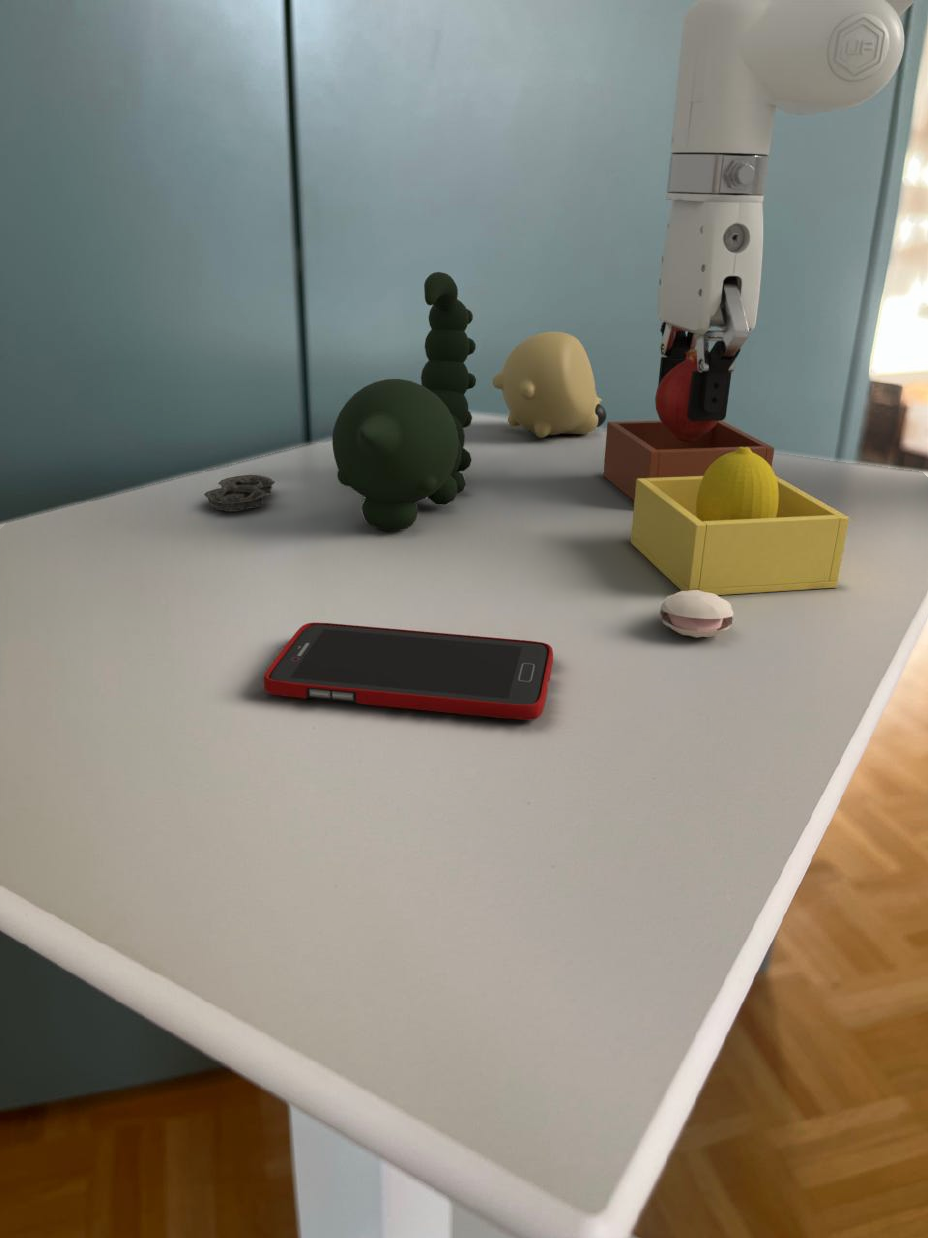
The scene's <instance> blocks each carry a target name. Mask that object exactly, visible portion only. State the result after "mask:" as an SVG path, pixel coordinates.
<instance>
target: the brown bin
mask: <svg viewBox="0 0 928 1238" xmlns="http://www.w3.org/2000/svg"><path fill="white" fill-rule="evenodd" d="M606 423H607V424H606V438H605V447H604V460H603V461H604V462H603V477H604V478H605V479H607V480H608V481H609V482H610V483H611V484H613V485H614V486H615V487H616V488H617V489H619V490H620V491H621V492H622V493H624V494H625V495H626V496H627V497H628V498H630V499H631V500H632V501H633V502H635V491H636V480H637V479H639V478H645V479H646V478H662V477H688V476H704V474H705V472H706V470H707V469H708V468H709V466H710V465H711V464H712V463H713V462H714V461H715V460H717V459H718V458H719V457H721V456H723V455H725V454H727V453H730V452H734V451H736V450H737V449H738V448H739V447H748V448H750V450H751V451H752V453H755V454H757V455H758V456H760V457H762V458H763V459H764V460H766V462H767V463H768V464H769V465H770V466H771V468H772V469H773V461H774V454H775V447H774V446H771V445H770V444H768V443H766V442H764V441H763V440H760V439H759V438H756V437H754V436H752V435H750V434H749V433H747V432H745V431H742V430H741V429H739V428H737V427H735V426H733V425H731V424H729V423H727V422H725V421H724V420H721V421H718V423H717V424H716V425H715V426H714V427H713V428H712V429H711V430H710V431H709V432H707V433H706V434H704V435H703V436H701V437H699V438H697V439H696V440H694V441H693V442H691V443H689V444H683V443H681V442H679V441H678V440H677V438H676V437H675V436H674V435H673V434H672V433H671V432H670V431H669V430H668V429H667V428H666V427H665V425H664V424H663V423H662V422H661V420H628V421H627V420H626V421H607V422H606Z"/></svg>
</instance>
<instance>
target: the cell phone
mask: <svg viewBox="0 0 928 1238" xmlns="http://www.w3.org/2000/svg"><path fill="white" fill-rule="evenodd" d="M553 662H554V651H553V647H552V646H551V645H550V644H549V643H546V642H542V641H534V640H525V639H516V638H515V639H514V638H512V639H511V638H505V637H504V638H501V637H490V636H479V635H468V634H457V633H447V632H446V633H445V632H434V631H422V630H412V629H411V630H410V629H401V628H399V629H398V628H388V627H387V628H386V627H378V626H377V627H375V626H366V625H354V624H344V623H332V622H308V623H305V624H303V625H301V626H300V627H299V628H298V629H297V631H296V632H295V633H294V634H293V636H292V637H291V638H290V640H288V642H287V644H286V645H285V646H284V647H283V649H282V650H281V651H280V653H279V654H278V655H277V656H276V658H275V659H274V660H273V662H272V663H270V666H268V668H267V669H266V671H265V673H264V675H263V689H264V691H265V692H266V693H269V694H271V695H274V696H280V697H281V696H283V697H290V698H297V699H318V700H319V699H320V700H329V701H338V702H339V701H340V702H348V703H349V702H350V703H356V704H360V705H369V706H380V707H389V708H398V709H410V710H419V711H428V712H429V711H430V712H439V713H448V714H457V715H458V714H461V715H468V716H469V715H470V716H480V717H489V718H500V719H511V720H523V721H524V720H526V721H527V720H528V721H529V720H537V719H538V718H539V717H541V716H542V714H543V712H544V709H545V706H546V699H547V696H548V689H549V687H548V686H549V682H550V680H551V674H552V670H553V664H554V663H553Z"/></svg>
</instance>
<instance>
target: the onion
mask: <svg viewBox="0 0 928 1238" xmlns="http://www.w3.org/2000/svg"><path fill="white" fill-rule="evenodd" d="M686 355H687V357H686V360H685V361H683V362H681V363H680V364H678V365H677V366H675V367H674V368H672V369H671V370H670V371H669V372H668V373H667V374H666V375H665V376H664V378H663V379H662V380H661V382H660V384H659V386H658V385H657V388H656V392H655V398H654V401H655V402H654V403H655V410H656V413H657V416H658V418H659V421H661V422H662V423H663V424H664V425H665V427H666V428H667V429H668V430H669V431H670V432H671V433H672V434H673V435H674V436H675V437H676V438H677V440H678V441H679V442H681V443H683V444H689V443H691V442H693V441H694V440H696V439H697V438H699V437H701V436H703V435H704V434H706V433H707V432H709V431H710V430H711V429H712V428H713V427H714V426H715V425H716V424H717V423H718V421H691V420H690V419H688V417H687V413H688V404H689V395H690V386H691V378H692V371H698V367H697V349H696V348H695V349H691V350H689V351H688V352H686Z"/></svg>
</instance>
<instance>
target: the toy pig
mask: <svg viewBox="0 0 928 1238" xmlns="http://www.w3.org/2000/svg"><path fill="white" fill-rule="evenodd" d="M492 386H493V387H494V388H495V389H498V390H501V393H502V397H503V400H504V402H505V404H506V407H507V409H508V410H509V414H508V417H507V422H508V424H509V426H510V427H518V426H522V427H523V428H525V429H526V430H527V431H528V432H531V433H534V434H535V435H536V437H538V438H541V439H542V438H546V437H547V436H556V435H560V434H568V435H585V434H589V433H591V432H593V431H594V430H596V429H597V428H599V427H601V426H603V424H605V421H606V420H607V412H606V409H605V407H604V406H603V405H601V403H602V401H603V400H602V398H601V397H599V396H598V395H597V391H596V383H595V378H594V373H593V369H592V365H591V362H590V359H589V357H588V355H587V352H586V350H585V348H584V346H583V344H582V342H581V341H580V340H579V339H578V338H577V337H575V336H574V335H573V334H570V333H567V332H564V331H563V332H562V331H546V332H541V333H536V334H534V335H532V336H529V337H527V338H525V339H524V340H522V341H521V342H520V343H518V344H517V345H516V346H515V347H514V348H513V349H512V351H511V352H510V353H509V355H508V356H507V358H506V360H505V362H504V364H503V368H502V371H500V372H499V373H496V374H495V376H494V377H493V378H492Z"/></svg>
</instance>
